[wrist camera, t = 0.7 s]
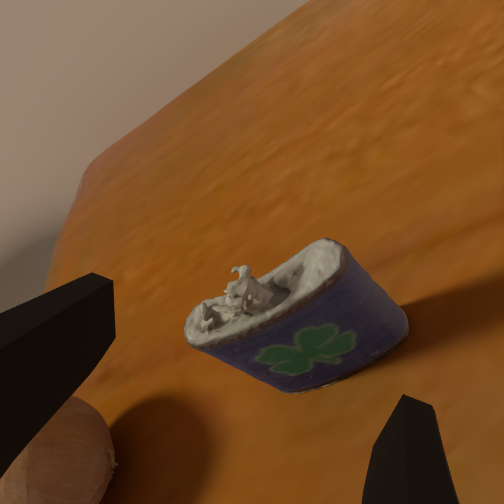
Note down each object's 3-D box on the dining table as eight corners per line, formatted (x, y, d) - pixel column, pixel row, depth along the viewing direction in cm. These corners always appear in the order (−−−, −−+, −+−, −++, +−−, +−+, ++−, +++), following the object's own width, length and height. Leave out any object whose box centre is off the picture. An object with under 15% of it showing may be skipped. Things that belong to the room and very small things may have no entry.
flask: (401, 301, 26) (315, 205, 18) (422, 346, 24) (335, 259, 17) (270, 362, 29) (152, 301, 22) (280, 406, 27) (154, 356, 20)
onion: (139, 387, 35) (21, 348, 28) (153, 517, 29) (6, 509, 22) (58, 442, 37) (-67, 419, 31) (55, 573, 31) (-104, 581, 24)
